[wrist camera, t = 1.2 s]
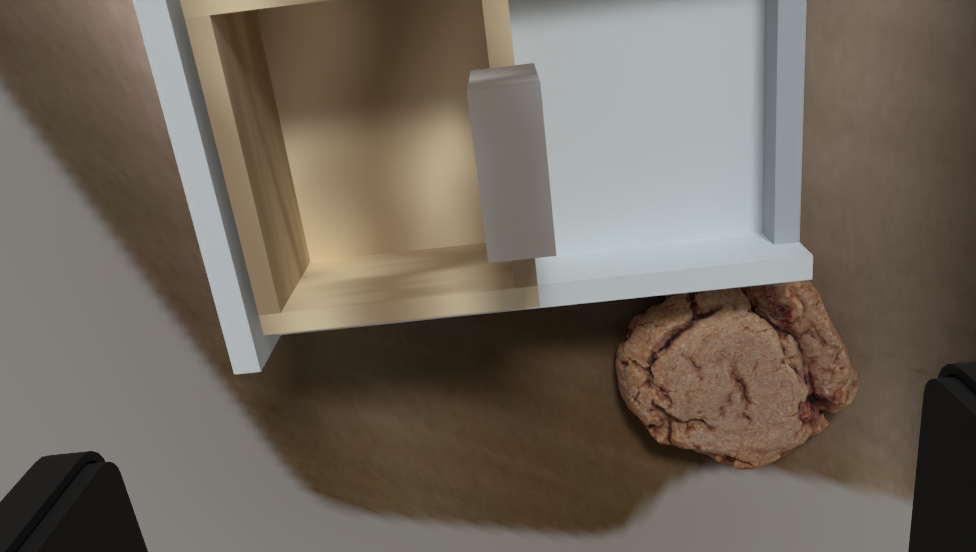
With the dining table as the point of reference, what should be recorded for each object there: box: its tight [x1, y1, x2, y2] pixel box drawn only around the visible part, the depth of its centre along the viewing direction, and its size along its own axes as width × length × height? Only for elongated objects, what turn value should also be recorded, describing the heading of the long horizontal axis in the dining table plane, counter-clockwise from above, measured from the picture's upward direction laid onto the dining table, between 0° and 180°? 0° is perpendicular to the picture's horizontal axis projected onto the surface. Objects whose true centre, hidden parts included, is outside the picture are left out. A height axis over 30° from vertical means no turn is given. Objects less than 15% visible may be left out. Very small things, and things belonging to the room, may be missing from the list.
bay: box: [133, 0, 813, 374], centre depth 30 cm, size 22×15×7 cm, turn 97°
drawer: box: [180, 0, 556, 335], centre depth 27 cm, size 11×12×10 cm
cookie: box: [615, 280, 858, 469], centre depth 36 cm, size 10×11×3 cm
